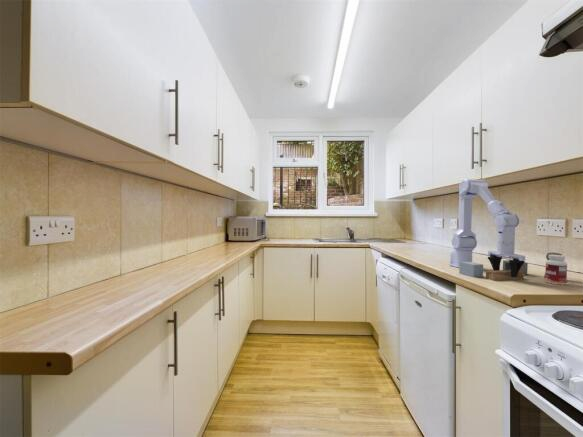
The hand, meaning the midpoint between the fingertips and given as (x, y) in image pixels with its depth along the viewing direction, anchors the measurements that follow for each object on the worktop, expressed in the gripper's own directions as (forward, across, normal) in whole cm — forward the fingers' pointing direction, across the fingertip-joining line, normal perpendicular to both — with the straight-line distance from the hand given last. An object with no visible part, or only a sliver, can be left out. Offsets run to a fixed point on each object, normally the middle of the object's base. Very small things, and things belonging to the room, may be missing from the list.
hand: (504, 275), depth 118 cm
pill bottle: (+2, +10, +13) cm, 16 cm away
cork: (+2, +4, +21) cm, 21 cm away
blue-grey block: (+1, -8, -8) cm, 12 cm away
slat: (+2, 0, 0) cm, 2 cm away
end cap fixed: (+1, -8, +16) cm, 18 cm away
